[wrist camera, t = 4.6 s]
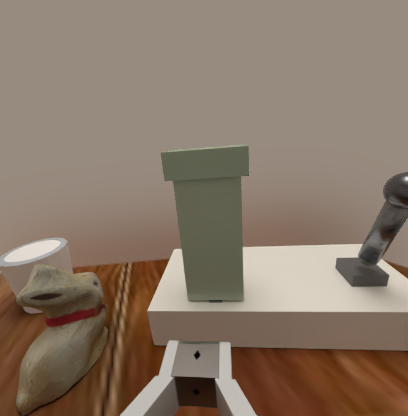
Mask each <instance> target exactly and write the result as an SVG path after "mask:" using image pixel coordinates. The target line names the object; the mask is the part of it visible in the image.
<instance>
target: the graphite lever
mask: <svg viewBox="0 0 408 416" xmlns="http://www.w3.org/2000/svg"><path fill="white" fill-rule="evenodd" d="M383 195H384V198H385V199H386V202H385V204H384V205H383V207H382V209H381V211H380V213H379V215H378V217H377V219H376V221H375V222H374V224H373V226H372V228H371V230H370V232H369V234H368V236H367V238H366V240H365V241H364V243H363V245H362V247H361V249H360V251H359V253H358V259H359V261H360V262H361V263H363V264H364V265H367V266H374V265H376V264H378V263H379V261H380V260H381V258H382V257H383V255H384V253H385V252H386V251H387V249H388V247H389V246H390V244H391V243H392V241H393V240H394V238H395V236H396V235H397V233H398V232H399V230H400V229H401V227H402V226H403V224H404V223H405V221H406V219H407V218H408V172H404V173H400V174H397V175H395V176H393V177H392V178H390V179H389V180H388V181H387V182H386V184H385V185H384V189H383Z"/></svg>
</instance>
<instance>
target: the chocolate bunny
mask: <svg viewBox="0 0 408 416" xmlns="http://www.w3.org/2000/svg"><path fill="white" fill-rule="evenodd" d="M103 297H104V293H103V289H102V286H101V283H100V281H99V279H98V277H97V275H96V274H95V273H92V272H86V273H78V274H73V273H70V272H67V271H65V270H62V269H59V268H56V267H53V266H49V265H43V264H40V265H34V267H33V270H32V272H31V275H30V278H29V281H28V283H27V285H26V286H25V287H24V288H23V289H22V290H21V291H20V293H19V294H18V295H17V298H16V303H17V304H18V305H19V306H22V307H31V308H35V309H38V310H40V311H43V312H44V313H45V314H46V316H47V318H46V324H47V327H46V329H45V330H44V331H43V332H42V333H41V334H40V335H39V336H38V337H37V338H36V339H35V340H34V342H33V343H32V344H31V346H30V347H29V349H28V351H27V352H26V354H25V356H24V358H23V361H22V363H21V367H20V373H19V387H18V393H17V399H16V406H17V409H18V411H19V412H20V413H21V414H22V416H23V415H26V414H28V413H30V412H31V411H33V410H34V409H36V408H37V407H39V406H41V405H44V404H47V403H48V402H52V401H53V400H55V399H56V398H58V397H60V396H62V395H64V394H65V393H66V392H67V391H68V390H69V389H70V388H71V387H72V386H73V385H74V384H75V383H77V382H78V381H79V380H80V379H81V377H83V376H85V374H87V373H88V371H89V369H90V368H91V367H92V366H93V365H94V364H95V362H96V361H97V360H98V359H99V357H100V356H101V354H102V351H103V348H104V346H105V344H106V342H107V337H108V329H107V327H106V326H104V325H105V322H106V311H107V310H108V305H107V304H102V302H103Z"/></svg>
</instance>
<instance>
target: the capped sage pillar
mask: <svg viewBox="0 0 408 416" xmlns="http://www.w3.org/2000/svg"><path fill="white" fill-rule="evenodd" d="M248 154H249V153H248V146H247V145H234V146H221V147H208V148H196V149H182V150H170V151H166V152H162V153H161V158H162V165H163V173H164V180H165V181H173V183H174V192H175V200H176V208H177V216H178V224H179V232H180V240H181V249H182V257H183V265H184V273H185V281H186V289H187V297H188V300H244V282H243V241H242V201H241V176H249V155H248Z"/></svg>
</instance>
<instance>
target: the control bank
mask: <svg viewBox="0 0 408 416" xmlns="http://www.w3.org/2000/svg"><path fill="white" fill-rule="evenodd" d="M361 247H362V244H346V245H345V244H343V245H307V246H272V247H243V282H244V300H188V297H187V289H186V281H185V273H184V265H183V257H182V249H174V251H173V254H172V256H171V258H170V260H169V263H168V265H167V267H166V269H165V272H164V274H163V276H162V279H161V281H160V283H159V285H158V288H157V290H156V292H155V294H154V297H153V299H152V301H151V304H150V306H149V308H148V310H147V313H148V318H149V323H150V328H151V333H152V338H153V343H154V345H167V344H168V342H169V340H171V341H192V342H199V341H203V342H230V344H231V347H261V348H307V349H353V350H400V351H408V279H407V278H406V277H404V276H403V275H402V274H400V273H399V272H398V271H396V270H395V269H394V268H393V267H391V266H390V265H389V264H387V263H386V262H385V261H383V260H382V259H381V260H380V261H379V263H378V264H376V265H374V266H367V265H364V264H363V263H361V262H360V261H359V259H358V253H359V251H360V249H361Z"/></svg>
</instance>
